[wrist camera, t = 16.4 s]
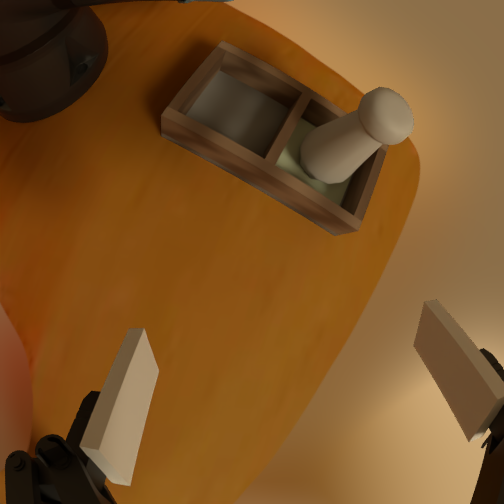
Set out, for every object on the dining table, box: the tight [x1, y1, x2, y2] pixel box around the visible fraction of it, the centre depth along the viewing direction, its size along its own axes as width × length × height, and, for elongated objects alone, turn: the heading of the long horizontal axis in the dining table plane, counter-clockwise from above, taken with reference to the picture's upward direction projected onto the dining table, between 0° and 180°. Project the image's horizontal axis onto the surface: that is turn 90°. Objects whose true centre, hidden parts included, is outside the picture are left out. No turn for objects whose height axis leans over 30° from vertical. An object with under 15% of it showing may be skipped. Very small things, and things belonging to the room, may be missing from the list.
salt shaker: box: [300, 87, 414, 184], centre depth 25 cm, size 6×6×13 cm
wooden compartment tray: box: [161, 41, 389, 236], centre depth 29 cm, size 20×10×4 cm, turn 62°
